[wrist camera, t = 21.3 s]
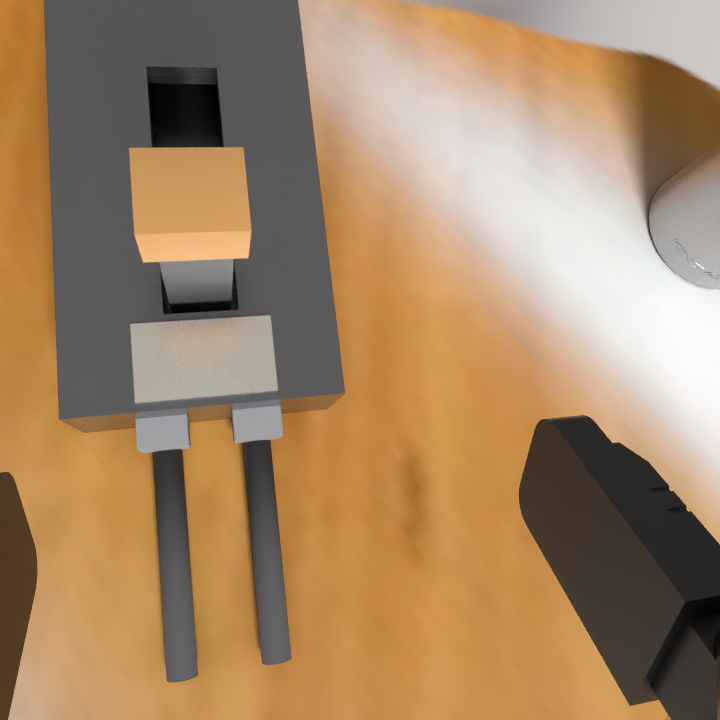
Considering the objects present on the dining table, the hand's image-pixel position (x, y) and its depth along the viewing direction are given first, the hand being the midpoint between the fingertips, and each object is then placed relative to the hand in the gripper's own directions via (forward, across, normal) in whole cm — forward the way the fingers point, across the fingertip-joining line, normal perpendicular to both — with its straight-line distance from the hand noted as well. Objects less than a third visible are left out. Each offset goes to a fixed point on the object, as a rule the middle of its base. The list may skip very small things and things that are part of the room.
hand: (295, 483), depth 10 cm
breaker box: (+32, +2, +9) cm, 33 cm away
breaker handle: (+28, +1, +11) cm, 30 cm away
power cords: (+19, +1, +22) cm, 29 cm away
